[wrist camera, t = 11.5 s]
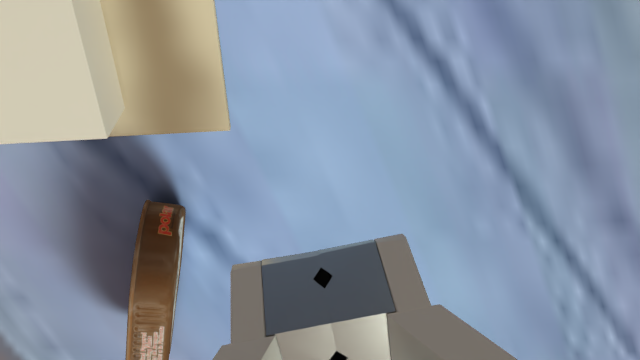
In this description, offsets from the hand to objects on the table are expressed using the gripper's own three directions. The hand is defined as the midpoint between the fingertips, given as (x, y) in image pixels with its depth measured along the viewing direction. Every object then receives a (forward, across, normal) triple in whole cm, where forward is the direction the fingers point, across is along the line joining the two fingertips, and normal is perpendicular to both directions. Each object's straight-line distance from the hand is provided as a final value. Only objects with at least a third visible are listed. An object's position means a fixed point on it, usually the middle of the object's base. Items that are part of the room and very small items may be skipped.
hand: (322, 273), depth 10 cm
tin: (+24, +11, +22) cm, 34 cm away
